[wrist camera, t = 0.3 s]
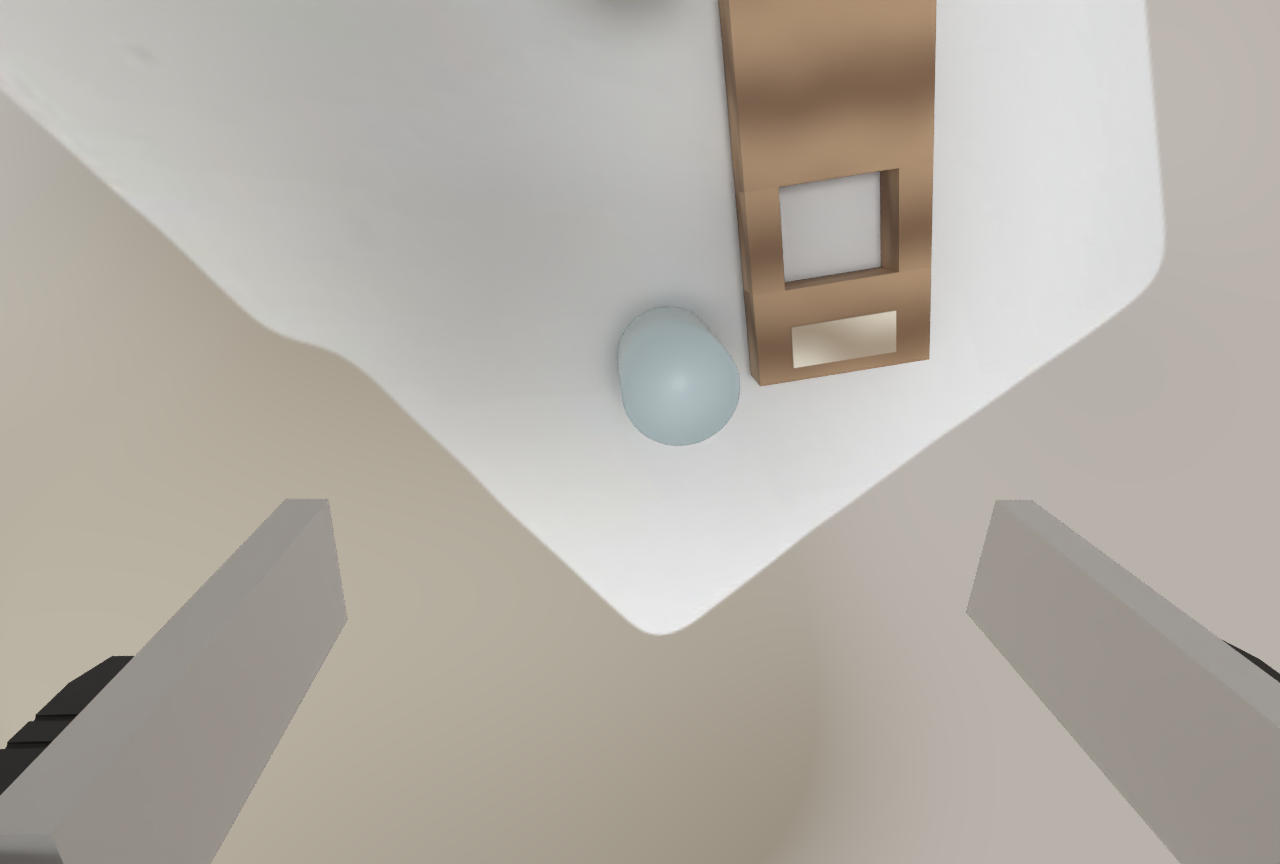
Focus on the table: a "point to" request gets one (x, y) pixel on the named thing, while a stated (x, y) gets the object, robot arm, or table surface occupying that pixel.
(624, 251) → the table surface
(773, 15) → the brown flat wooden slab
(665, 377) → the pale blue capsule
